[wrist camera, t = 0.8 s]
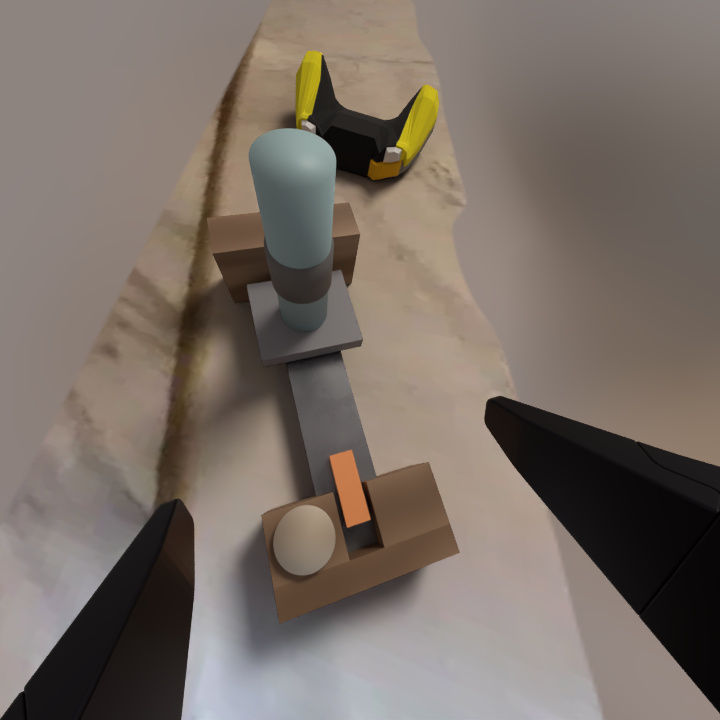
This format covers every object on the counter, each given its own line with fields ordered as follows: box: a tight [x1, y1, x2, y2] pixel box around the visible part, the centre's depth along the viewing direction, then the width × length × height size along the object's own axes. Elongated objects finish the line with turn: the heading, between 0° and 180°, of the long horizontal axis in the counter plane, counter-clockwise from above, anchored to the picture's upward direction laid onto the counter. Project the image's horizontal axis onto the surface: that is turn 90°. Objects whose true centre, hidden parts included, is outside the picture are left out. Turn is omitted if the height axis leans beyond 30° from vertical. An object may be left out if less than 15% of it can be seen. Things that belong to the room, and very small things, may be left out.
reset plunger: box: [329, 450, 371, 528], centre depth 19 cm, size 4×1×1 cm, turn 16°
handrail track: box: [286, 351, 378, 552], centre depth 23 cm, size 22×4×2 cm, turn 16°
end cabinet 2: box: [261, 462, 460, 624], centre depth 19 cm, size 5×10×4 cm, turn 106°
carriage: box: [247, 128, 363, 367], centre depth 17 cm, size 6×7×13 cm
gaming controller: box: [296, 51, 439, 180], centre depth 32 cm, size 15×6×10 cm
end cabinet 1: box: [207, 203, 360, 303], centre depth 25 cm, size 3×10×6 cm, turn 106°
